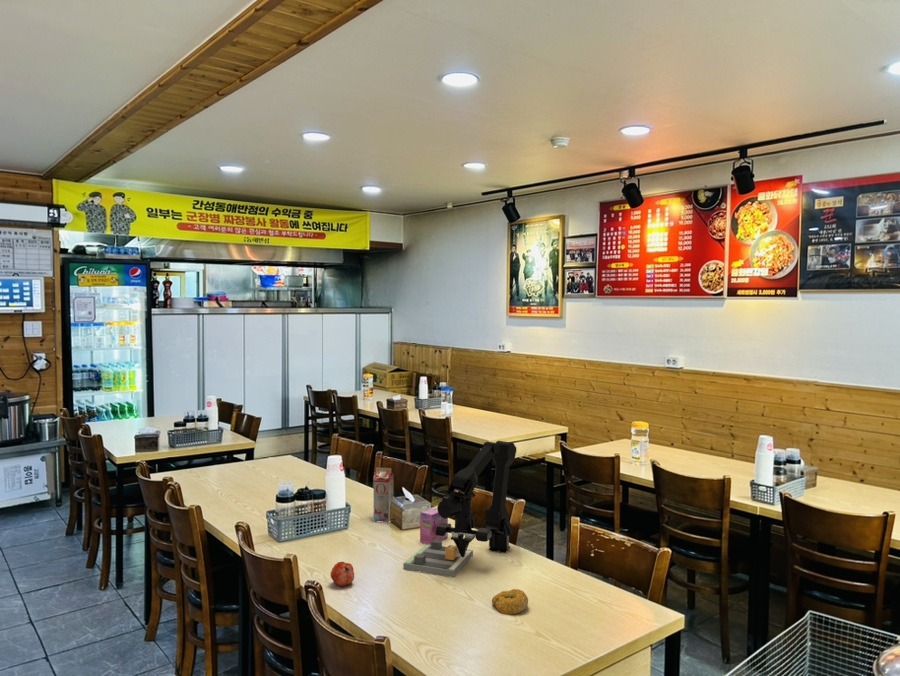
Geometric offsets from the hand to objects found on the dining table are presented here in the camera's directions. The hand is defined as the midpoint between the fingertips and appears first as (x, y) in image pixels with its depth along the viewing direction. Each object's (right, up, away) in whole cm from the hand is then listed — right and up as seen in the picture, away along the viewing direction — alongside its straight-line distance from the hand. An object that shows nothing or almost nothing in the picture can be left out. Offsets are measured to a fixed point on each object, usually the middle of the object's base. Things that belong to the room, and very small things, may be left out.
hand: (463, 556), depth 218 cm
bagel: (+13, -5, -31) cm, 34 cm away
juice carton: (-32, -2, +50) cm, 59 cm away
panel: (-8, -3, +3) cm, 9 cm away
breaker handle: (-4, -1, +2) cm, 4 cm away
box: (-11, -3, +25) cm, 28 cm away
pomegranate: (-39, -4, -15) cm, 42 cm away
